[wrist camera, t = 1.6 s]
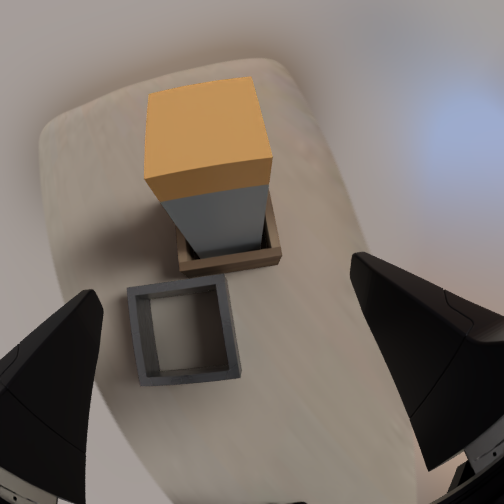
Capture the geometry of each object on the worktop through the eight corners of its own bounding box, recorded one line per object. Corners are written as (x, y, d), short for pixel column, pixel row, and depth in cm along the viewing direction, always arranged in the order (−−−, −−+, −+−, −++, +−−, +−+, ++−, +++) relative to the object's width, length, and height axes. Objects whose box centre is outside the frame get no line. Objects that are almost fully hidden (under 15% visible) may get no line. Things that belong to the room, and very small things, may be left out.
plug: (259, 252, 22) (272, 157, 9) (202, 261, 22) (144, 178, 9) (250, 199, 23) (251, 76, 10) (196, 208, 23) (148, 94, 10)
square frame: (277, 264, 22) (282, 255, 19) (189, 278, 21) (179, 271, 18) (262, 184, 23) (263, 166, 20) (181, 197, 23) (172, 180, 20)
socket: (241, 370, 20) (240, 377, 17) (154, 378, 19) (140, 386, 16) (227, 280, 21) (223, 273, 18) (142, 292, 21) (126, 287, 18)
